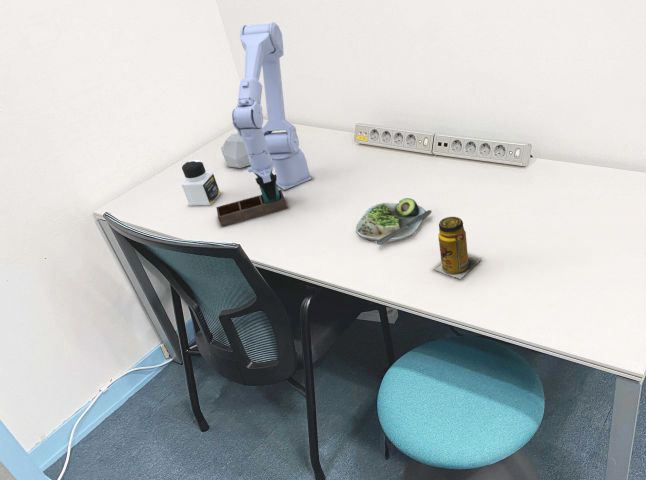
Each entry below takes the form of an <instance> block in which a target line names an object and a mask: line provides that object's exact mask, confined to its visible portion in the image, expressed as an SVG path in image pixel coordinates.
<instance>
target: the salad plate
mask: <svg viewBox="0 0 646 480" xmlns="http://www.w3.org/2000/svg"><path fill="white" fill-rule="evenodd" d="M398 202H399V203H397V202H395V203H394V202H381V203H376V204H374V205H371V206H370V207H369V208H368V209H367V210H366V211H365V212H364V214H362V217H361V218H360V220H359V221H358V222H357V224H356V226H355V232H356V234H357V235H358V236H359V237H361V238H363V239H365V240H368V241H370V242H376V245H379V246H381V245H384V244H386V243H391V242H394V241H398V240H399V241H400V240H403V239H405V238H408V237H411V236H413V235H414V234H415V232H416V231H417V230H418V229H419V227H420V225H421V224H422V222H423V221H424V220H425V219H426V218H428V216H430V215H431V214H432V210H429V209H428V210H425V209H424V208H423V207H422V206H420V205H418V204H417V202H416V200H414V199H413V198H410V197H405V198H402V199H400V200H399V201H398Z"/></svg>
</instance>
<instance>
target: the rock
mask: <svg viewBox="0 0 646 480" xmlns="http://www.w3.org/2000/svg"><path fill="white" fill-rule="evenodd" d="M220 150H221V154H222V156H223V158H224V160H225V163H226V164H227V167H231V168H238V169H241V168H244V167H249V166H251V164H250V161H249V158H248V155H247V152H246V148H245V145H244V142H243V139H242V137H241V136H240V135H239V133H238V132H236V133H231V134H230V135H229V136H228V137H227V138H226V139H225V141H224V143H223V144H222V145H221V147H220Z"/></svg>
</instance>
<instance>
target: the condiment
mask: <svg viewBox="0 0 646 480" xmlns="http://www.w3.org/2000/svg"><path fill="white" fill-rule="evenodd" d="M464 227H465V226H464V222H463V220H462V218H460V217H457V216H447V217H444V218H442V219H441V220H440V221H439V223H438V234H437V235H438V245H439V252H440V262H441V264H440V265H438V266H437V267H436V268H434V270H433V271H437V272H438V273H442V274H445V275H447V276H450V277H453V278H456V279H459V280H462V278H464V277H465V276H466V275H467V274H469V272H470V271H471V270H472V269H473V268H474V267H475V266H476V265H478V263H479V262H480V261H482V258H478V257H475V256H472V255H469V254H468V243H467V242H468V241H467V232H466V230H465V228H464Z"/></svg>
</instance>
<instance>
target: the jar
mask: <svg viewBox="0 0 646 480" xmlns="http://www.w3.org/2000/svg"><path fill="white" fill-rule="evenodd" d="M271 175H275V174H274V173H273V172H272V173H270V176H271ZM259 177H260V176H258V177H257V176H256V178H259ZM258 186H259V185H258ZM275 188H276V199H273V200H268V198H267V196H266V195H265V193H264V191H263V189H262V188H261V187H260V186H259V190H260V192H261V193H260V194H261V195H262V196H263V199H264V202H265V204H266V203H270V202H274V201H277V200H281V198H280V194H279V191H278V190H279V188H278V185H277V184H276V185H275Z"/></svg>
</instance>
